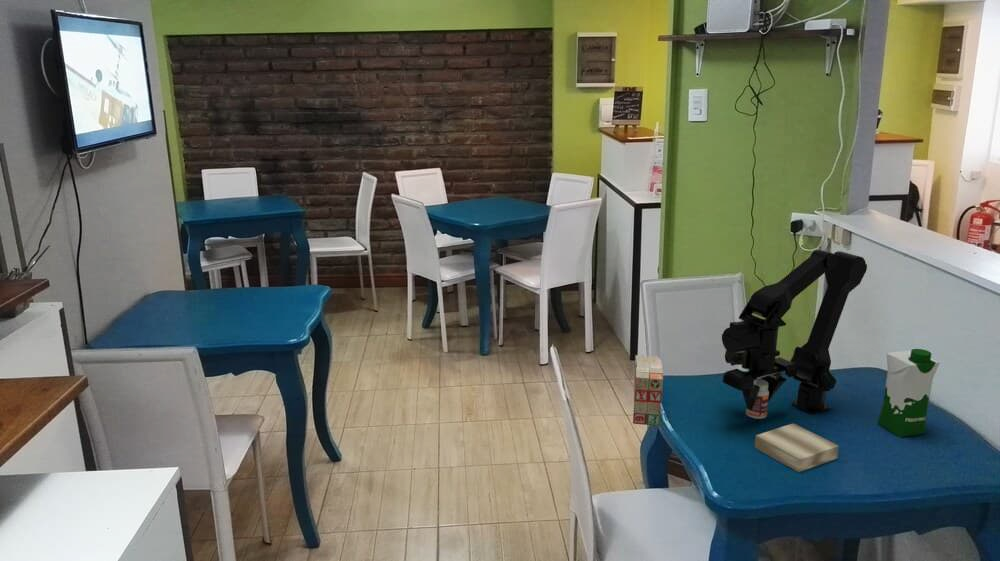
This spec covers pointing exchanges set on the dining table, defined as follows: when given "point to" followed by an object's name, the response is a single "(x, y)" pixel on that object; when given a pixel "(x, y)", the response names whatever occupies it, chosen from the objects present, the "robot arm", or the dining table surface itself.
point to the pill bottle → (760, 401)
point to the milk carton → (907, 392)
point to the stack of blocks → (647, 390)
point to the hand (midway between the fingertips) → (756, 406)
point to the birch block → (796, 447)
